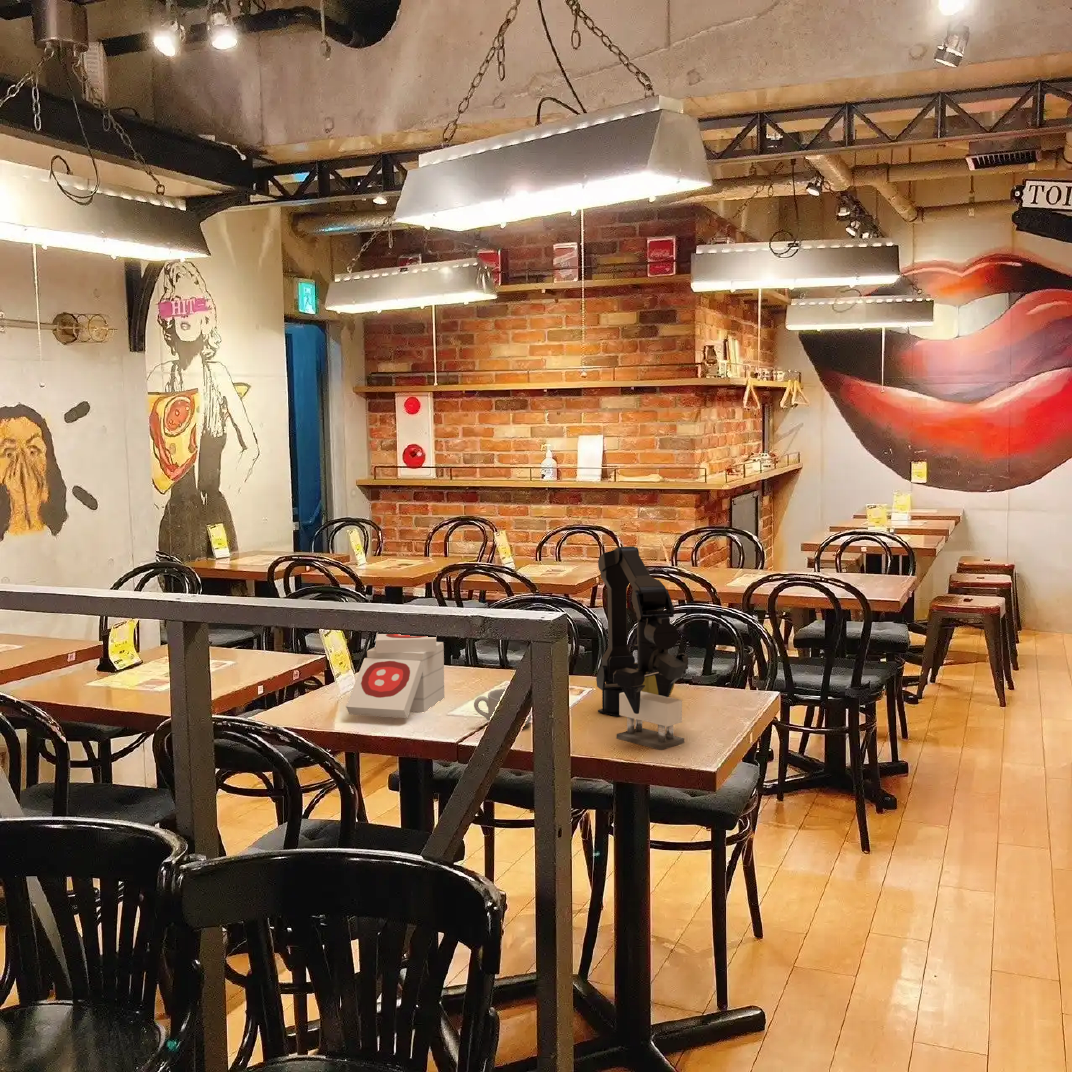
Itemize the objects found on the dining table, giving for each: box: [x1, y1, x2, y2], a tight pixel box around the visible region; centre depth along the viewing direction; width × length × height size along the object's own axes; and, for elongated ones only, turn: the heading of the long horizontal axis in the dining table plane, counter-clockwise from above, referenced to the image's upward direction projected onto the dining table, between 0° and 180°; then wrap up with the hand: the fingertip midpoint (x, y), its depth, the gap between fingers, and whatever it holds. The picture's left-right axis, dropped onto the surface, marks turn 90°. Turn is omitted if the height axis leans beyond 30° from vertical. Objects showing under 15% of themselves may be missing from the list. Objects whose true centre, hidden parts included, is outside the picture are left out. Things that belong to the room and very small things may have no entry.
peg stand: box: [616, 717, 685, 751], centre depth 252 cm, size 13×8×5 cm, turn 44°
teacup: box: [473, 687, 532, 725], centre depth 265 cm, size 14×11×8 cm
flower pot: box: [636, 668, 676, 697], centre depth 290 cm, size 9×9×9 cm
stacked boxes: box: [345, 633, 445, 719], centre depth 281 cm, size 19×30×18 cm, turn 165°
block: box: [619, 691, 683, 727], centre depth 252 cm, size 14×5×5 cm, turn 44°
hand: (650, 709), depth 252 cm, fingers open, 9 cm apart
